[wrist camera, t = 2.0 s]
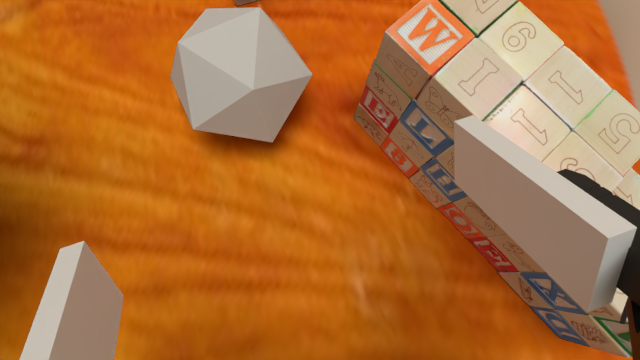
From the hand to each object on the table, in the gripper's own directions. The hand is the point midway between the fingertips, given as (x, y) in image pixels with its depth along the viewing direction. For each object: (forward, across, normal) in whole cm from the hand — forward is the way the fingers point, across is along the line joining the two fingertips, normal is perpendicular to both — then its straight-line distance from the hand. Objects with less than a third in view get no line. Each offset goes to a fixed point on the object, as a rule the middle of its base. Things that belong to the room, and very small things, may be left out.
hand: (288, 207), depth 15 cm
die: (+18, 0, -3) cm, 18 cm away
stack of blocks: (+9, +14, -12) cm, 21 cm away
